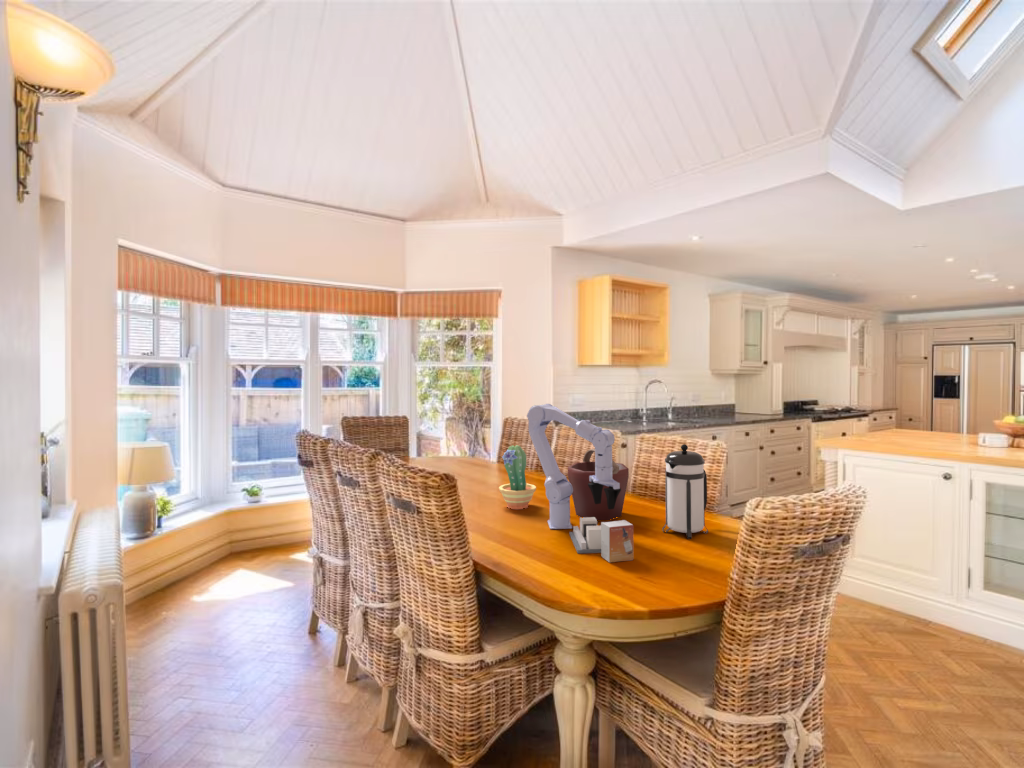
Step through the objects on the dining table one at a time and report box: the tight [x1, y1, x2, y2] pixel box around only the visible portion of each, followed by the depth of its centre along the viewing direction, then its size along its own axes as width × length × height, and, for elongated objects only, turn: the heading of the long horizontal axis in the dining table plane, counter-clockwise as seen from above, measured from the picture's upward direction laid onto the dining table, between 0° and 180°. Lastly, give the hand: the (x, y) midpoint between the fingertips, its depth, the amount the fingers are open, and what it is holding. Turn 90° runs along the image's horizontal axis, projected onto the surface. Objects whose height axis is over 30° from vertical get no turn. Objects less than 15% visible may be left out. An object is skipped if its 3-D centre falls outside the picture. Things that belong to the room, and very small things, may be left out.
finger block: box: [579, 517, 598, 539], centre depth 172 cm, size 4×5×6 cm
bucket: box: [567, 448, 630, 521], centre depth 201 cm, size 24×22×25 cm
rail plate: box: [569, 524, 601, 554], centre depth 169 cm, size 18×12×7 cm, turn 2°
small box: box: [600, 519, 634, 563], centre depth 155 cm, size 8×6×10 cm
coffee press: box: [661, 443, 709, 540], centre depth 179 cm, size 17×16×30 cm
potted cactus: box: [498, 444, 537, 510], centre depth 215 cm, size 15×15×25 cm
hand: (604, 506), depth 178 cm, fingers open, 7 cm apart
